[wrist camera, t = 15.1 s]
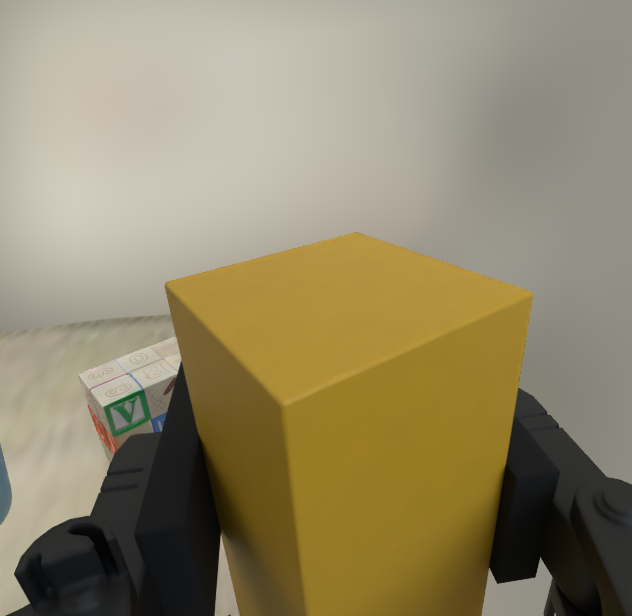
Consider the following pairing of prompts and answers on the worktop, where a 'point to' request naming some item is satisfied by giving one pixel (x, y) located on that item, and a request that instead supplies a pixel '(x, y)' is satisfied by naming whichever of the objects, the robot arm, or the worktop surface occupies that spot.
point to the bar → (353, 424)
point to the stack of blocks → (131, 393)
